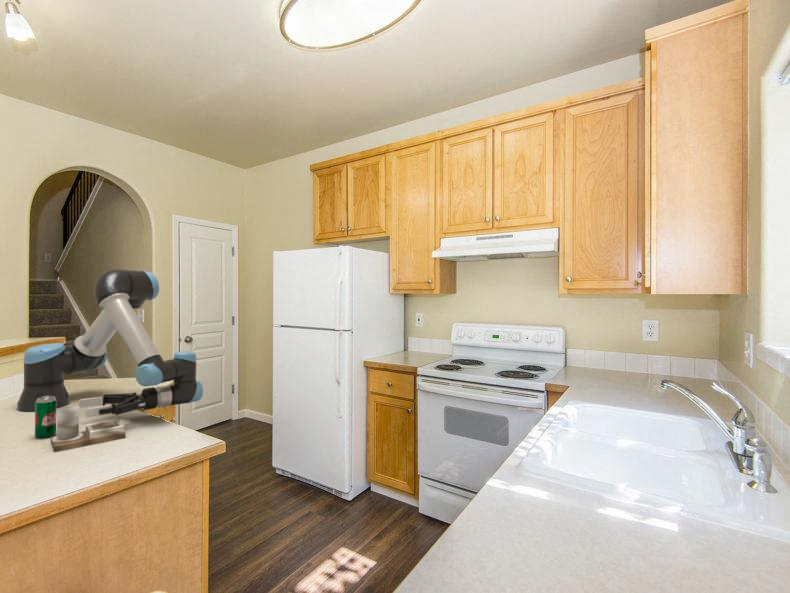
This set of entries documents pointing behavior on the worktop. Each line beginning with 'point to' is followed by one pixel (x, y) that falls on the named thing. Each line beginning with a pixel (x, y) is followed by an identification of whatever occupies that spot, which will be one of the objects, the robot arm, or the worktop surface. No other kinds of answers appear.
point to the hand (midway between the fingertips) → (82, 408)
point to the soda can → (45, 417)
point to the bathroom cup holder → (94, 432)
